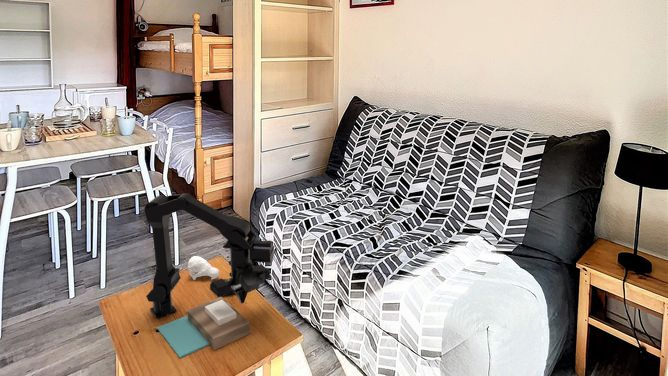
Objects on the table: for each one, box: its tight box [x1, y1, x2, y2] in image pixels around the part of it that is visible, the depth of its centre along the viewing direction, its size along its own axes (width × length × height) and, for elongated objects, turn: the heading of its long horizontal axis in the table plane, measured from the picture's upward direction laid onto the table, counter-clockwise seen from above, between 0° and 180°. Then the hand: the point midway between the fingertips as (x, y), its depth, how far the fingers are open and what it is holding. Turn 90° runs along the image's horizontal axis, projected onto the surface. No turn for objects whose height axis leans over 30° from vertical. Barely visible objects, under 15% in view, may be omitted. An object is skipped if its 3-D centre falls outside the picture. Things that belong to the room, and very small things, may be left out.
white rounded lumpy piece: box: [186, 255, 220, 281], centre depth 164 cm, size 6×8×12 cm
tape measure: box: [222, 277, 235, 296], centre depth 156 cm, size 7×7×4 cm
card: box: [205, 300, 237, 325], centre depth 137 cm, size 9×6×2 cm, turn 42°
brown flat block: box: [186, 296, 251, 351], centre depth 137 cm, size 18×12×4 cm, turn 42°
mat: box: [156, 315, 210, 359], centre depth 133 cm, size 17×10×1 cm, turn 42°
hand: (242, 302), depth 142 cm, fingers closed
